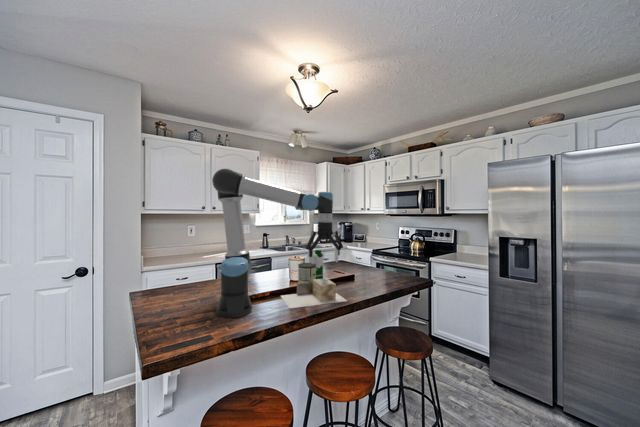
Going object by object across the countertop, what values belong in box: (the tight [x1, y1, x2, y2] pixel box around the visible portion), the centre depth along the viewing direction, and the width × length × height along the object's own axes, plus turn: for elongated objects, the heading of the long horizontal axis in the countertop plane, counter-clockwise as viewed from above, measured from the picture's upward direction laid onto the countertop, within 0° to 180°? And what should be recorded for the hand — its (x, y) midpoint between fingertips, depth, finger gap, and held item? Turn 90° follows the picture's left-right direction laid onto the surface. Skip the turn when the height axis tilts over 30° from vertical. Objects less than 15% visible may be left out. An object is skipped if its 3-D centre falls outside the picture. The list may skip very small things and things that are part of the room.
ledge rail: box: [296, 282, 313, 295], centre depth 150 cm, size 20×2×7 cm, turn 112°
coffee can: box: [297, 262, 316, 284], centre depth 159 cm, size 10×10×14 cm
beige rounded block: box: [313, 277, 337, 302], centre depth 143 cm, size 8×12×8 cm, turn 22°
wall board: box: [280, 292, 348, 309], centre depth 141 cm, size 30×19×1 cm, turn 112°
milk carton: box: [307, 249, 325, 279], centre depth 176 cm, size 9×9×20 cm
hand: (324, 262), depth 143 cm, fingers open, 13 cm apart
